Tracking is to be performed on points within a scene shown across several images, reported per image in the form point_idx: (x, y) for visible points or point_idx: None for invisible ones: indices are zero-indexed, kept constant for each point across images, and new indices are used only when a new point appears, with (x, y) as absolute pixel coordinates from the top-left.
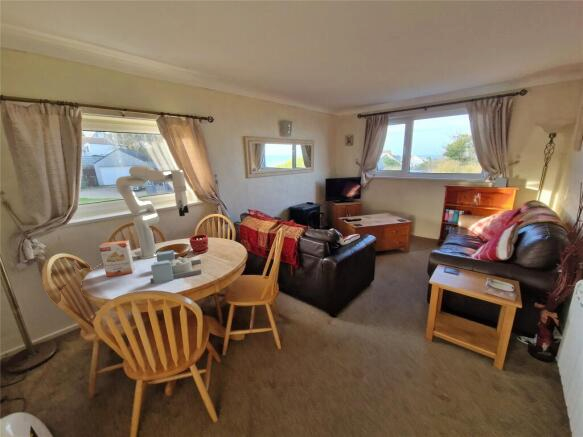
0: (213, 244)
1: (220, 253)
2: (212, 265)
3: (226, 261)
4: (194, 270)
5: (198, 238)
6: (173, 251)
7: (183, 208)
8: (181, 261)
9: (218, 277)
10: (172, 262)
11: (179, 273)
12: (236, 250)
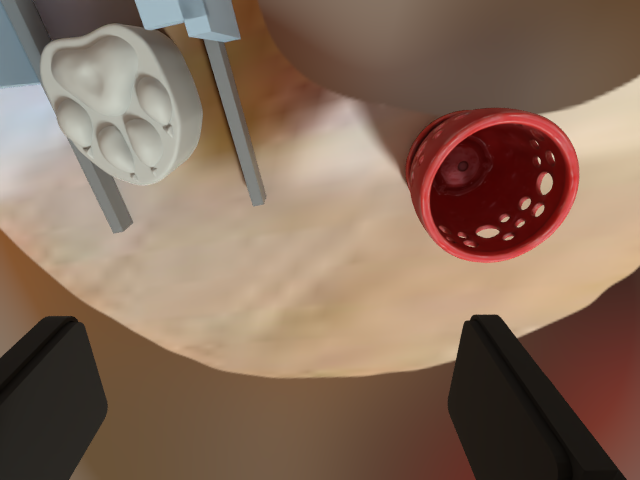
0: None
1: (375, 283)
2: (217, 262)
3: (257, 319)
4: (107, 200)
5: (554, 168)
6: (212, 32)
7: (538, 445)
8: (100, 133)
9: (87, 302)
10: (60, 73)
11: None
12: (392, 353)
